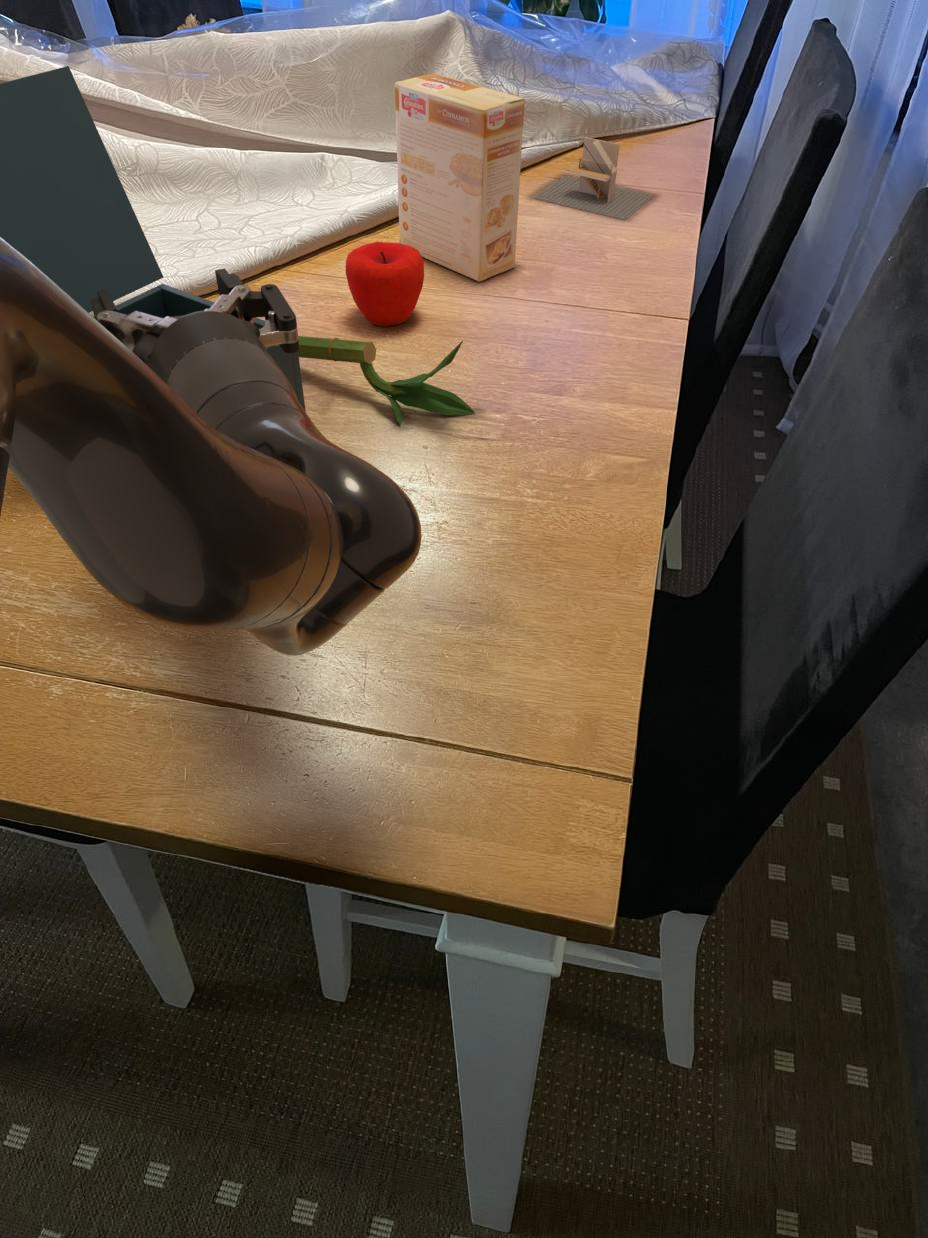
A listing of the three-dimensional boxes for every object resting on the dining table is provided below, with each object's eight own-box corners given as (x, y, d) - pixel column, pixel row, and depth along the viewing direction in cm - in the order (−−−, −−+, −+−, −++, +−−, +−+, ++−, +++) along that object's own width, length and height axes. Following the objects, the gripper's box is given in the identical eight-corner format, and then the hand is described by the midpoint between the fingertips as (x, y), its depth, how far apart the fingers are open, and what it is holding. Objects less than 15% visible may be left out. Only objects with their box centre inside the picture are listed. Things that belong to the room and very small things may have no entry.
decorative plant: (251, 313, 98) (483, 330, 84) (265, 386, 102) (488, 414, 88) (211, 327, 93) (449, 347, 79) (228, 403, 98) (456, 434, 84)
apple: (401, 294, 107) (399, 228, 102) (439, 323, 102) (439, 256, 96) (336, 311, 104) (330, 244, 98) (371, 342, 98) (367, 273, 93)
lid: (68, 65, 69) (63, 67, 69) (-92, 106, 61) (-97, 109, 61) (164, 277, 78) (158, 278, 78) (35, 337, 70) (30, 338, 70)
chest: (312, 464, 82) (296, 331, 72) (207, 542, 74) (173, 403, 64) (192, 412, 88) (162, 282, 78) (82, 479, 80) (34, 343, 70)
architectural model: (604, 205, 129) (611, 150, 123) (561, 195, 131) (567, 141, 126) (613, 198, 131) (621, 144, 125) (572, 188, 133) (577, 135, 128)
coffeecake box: (516, 267, 113) (527, 96, 99) (478, 283, 109) (484, 109, 96) (435, 233, 120) (435, 70, 107) (397, 247, 117) (392, 80, 103)
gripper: (329, 318, 54) (250, 224, 64) (92, 367, 50) (46, 257, 60) (339, 423, 60) (264, 320, 70) (126, 476, 55) (78, 358, 65)
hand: (164, 291), depth 65 cm, fingers open, 8 cm apart
